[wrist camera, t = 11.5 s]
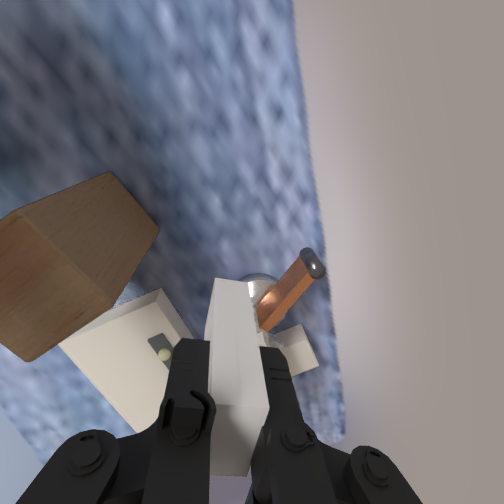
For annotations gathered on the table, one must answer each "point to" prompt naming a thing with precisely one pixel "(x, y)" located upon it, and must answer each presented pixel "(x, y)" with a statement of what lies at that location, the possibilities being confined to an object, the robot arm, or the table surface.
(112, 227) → the wooden block
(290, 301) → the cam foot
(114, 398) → the stand
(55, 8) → the table surface
